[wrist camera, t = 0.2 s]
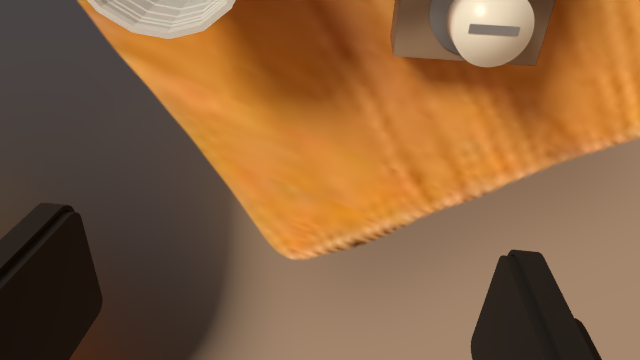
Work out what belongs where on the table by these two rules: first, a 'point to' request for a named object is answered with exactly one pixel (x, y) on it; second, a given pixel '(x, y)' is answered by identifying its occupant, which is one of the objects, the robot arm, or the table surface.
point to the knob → (490, 29)
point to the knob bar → (432, 35)
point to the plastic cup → (163, 15)
